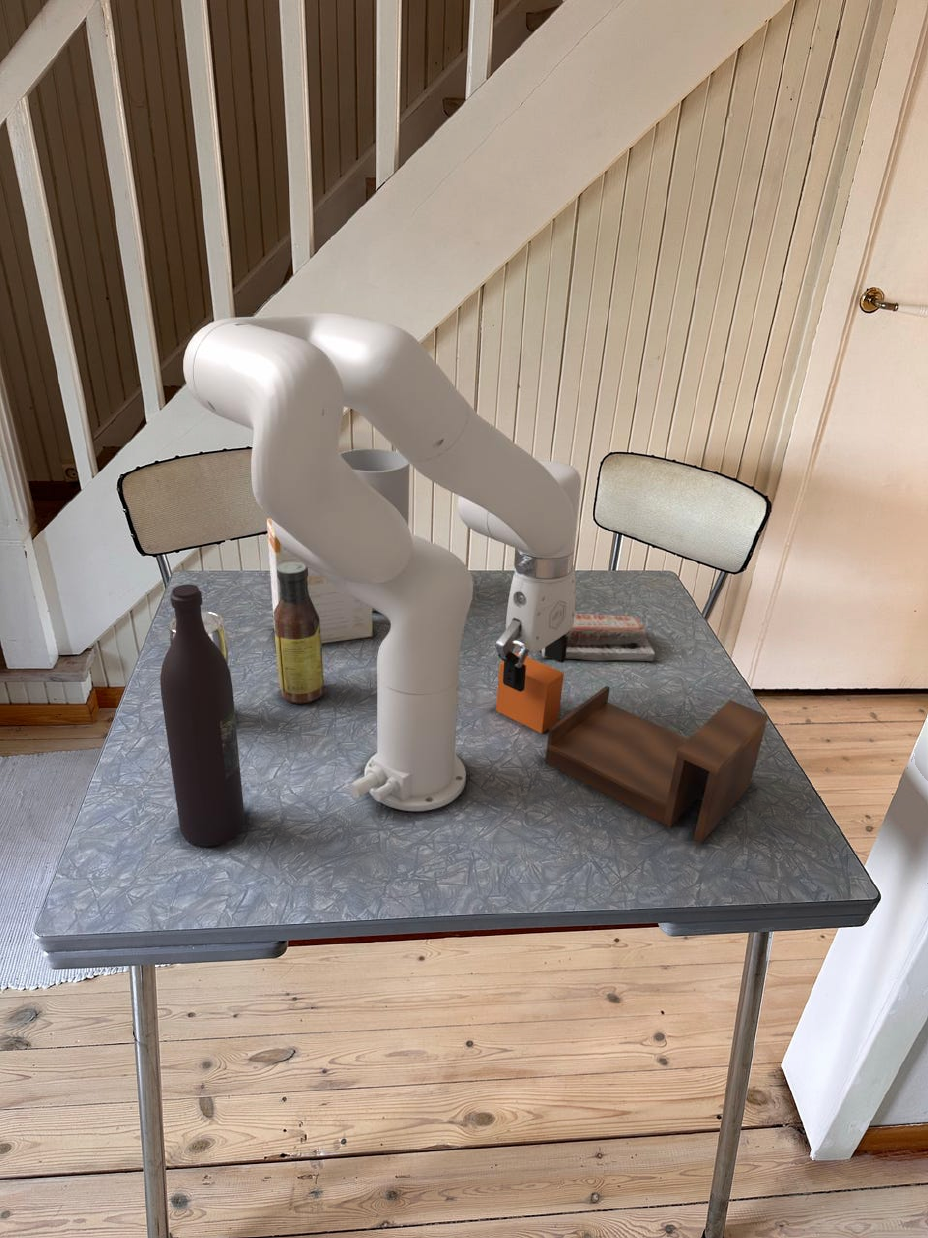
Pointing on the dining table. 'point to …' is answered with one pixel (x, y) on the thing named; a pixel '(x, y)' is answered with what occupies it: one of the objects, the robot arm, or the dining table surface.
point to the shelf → (659, 759)
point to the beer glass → (209, 630)
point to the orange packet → (532, 696)
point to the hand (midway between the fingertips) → (534, 672)
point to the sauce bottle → (297, 636)
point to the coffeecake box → (323, 599)
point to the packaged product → (607, 639)
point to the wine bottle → (201, 728)
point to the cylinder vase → (383, 475)
